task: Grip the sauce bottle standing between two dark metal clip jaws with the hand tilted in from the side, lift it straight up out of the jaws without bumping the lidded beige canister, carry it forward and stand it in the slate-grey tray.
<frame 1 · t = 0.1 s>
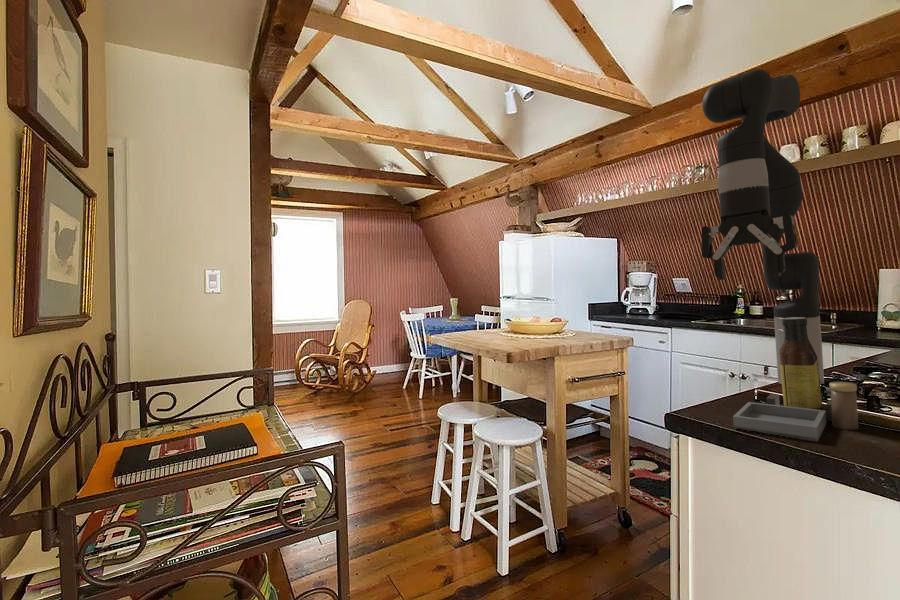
hand: (748, 278, 80), 29 cm above the countertop, tool pointing down, fingers open, 8 cm apart
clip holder: (802, 413, 91), on the countertop
sauce bottle: (802, 414, 91), on the countertop
lidded beige canister: (845, 426, 82), on the countertop
tray: (779, 426, 85), on the countertop
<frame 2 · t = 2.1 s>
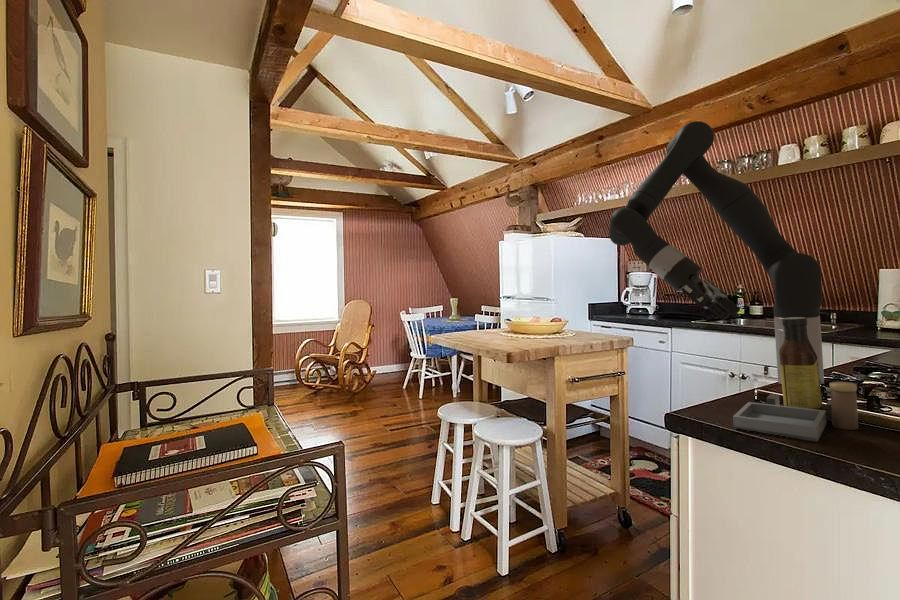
hand: (732, 315, 98), 21 cm above the countertop, tool tilted 45°, fingers open, 8 cm apart
nothing on the countertop moved.
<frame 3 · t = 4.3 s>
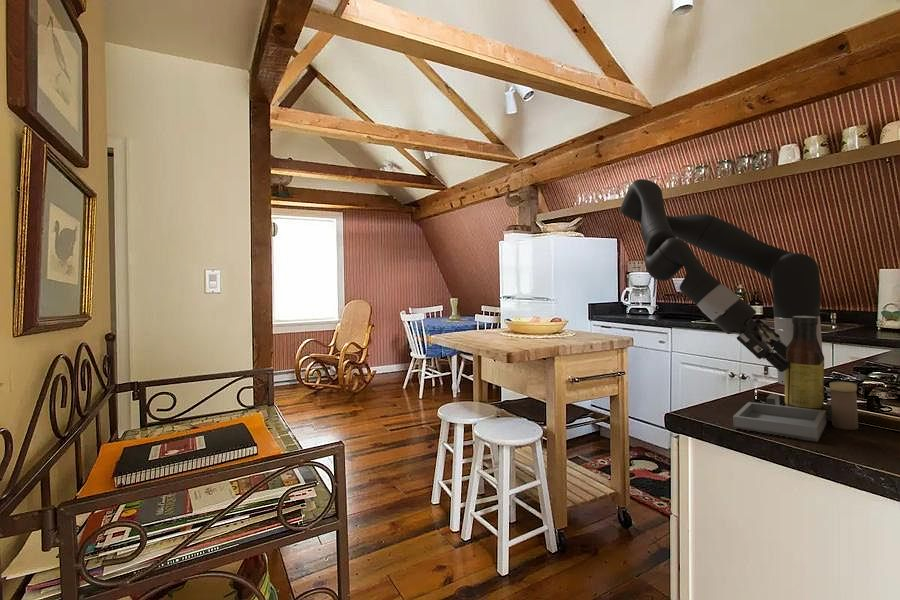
hand: (789, 363, 93), 10 cm above the countertop, tool tilted 40°, fingers open, 8 cm apart
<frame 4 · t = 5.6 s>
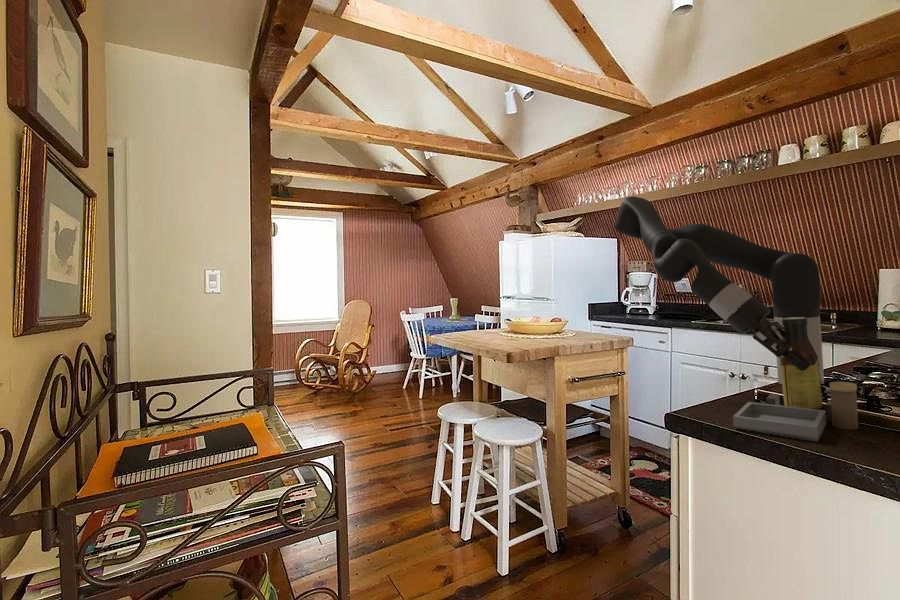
hand: (809, 364, 89), 10 cm above the countertop, tool tilted 45°, fingers closed on sauce bottle, 6 cm apart
sauce bottle: (802, 414, 91), on the countertop, touching gripper
everything else where it was.
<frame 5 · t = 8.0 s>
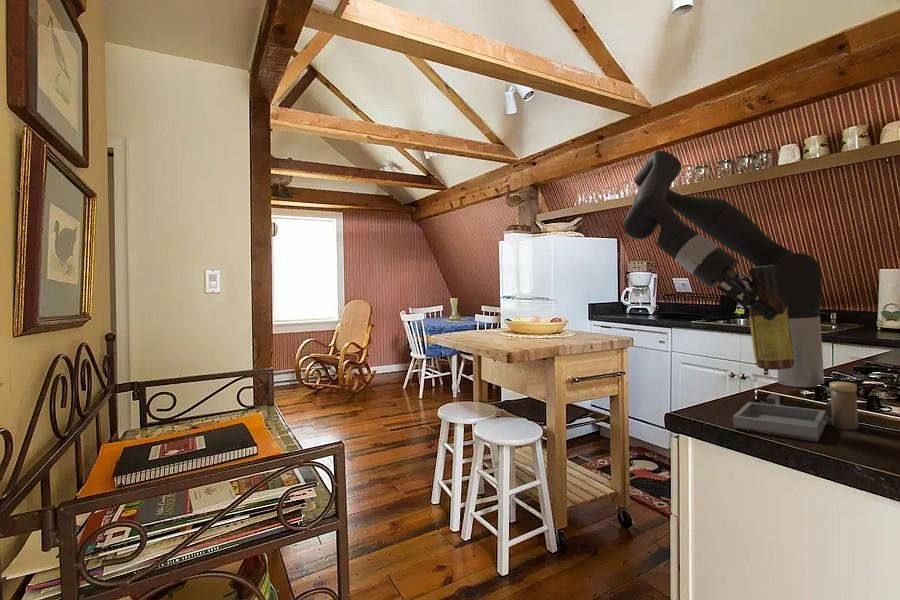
hand: (778, 314, 85), 22 cm above the countertop, tool tilted 45°, fingers closed on sauce bottle, 6 cm apart
sauce bottle: (774, 368, 86), point 11 cm above the countertop, touching gripper
everything else where it was.
when the fingers open (12 cm above the countertop, at t = 10.5 s): sauce bottle drops 1 cm, resting on tray.
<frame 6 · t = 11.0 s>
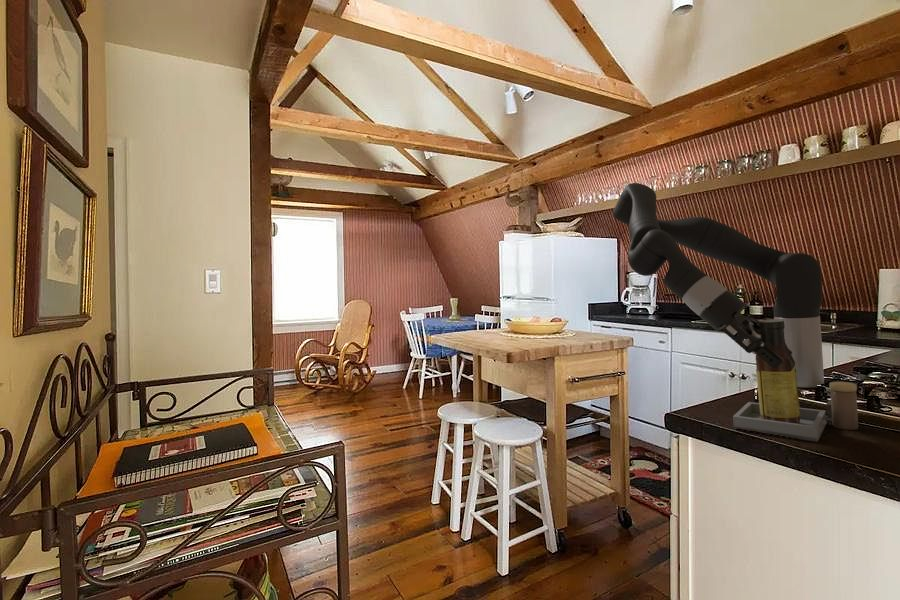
hand: (784, 360, 84), 13 cm above the countertop, tool tilted 45°, fingers open, 8 cm apart
sauce bottle: (779, 424, 85), resting on tray
everything else where it was.
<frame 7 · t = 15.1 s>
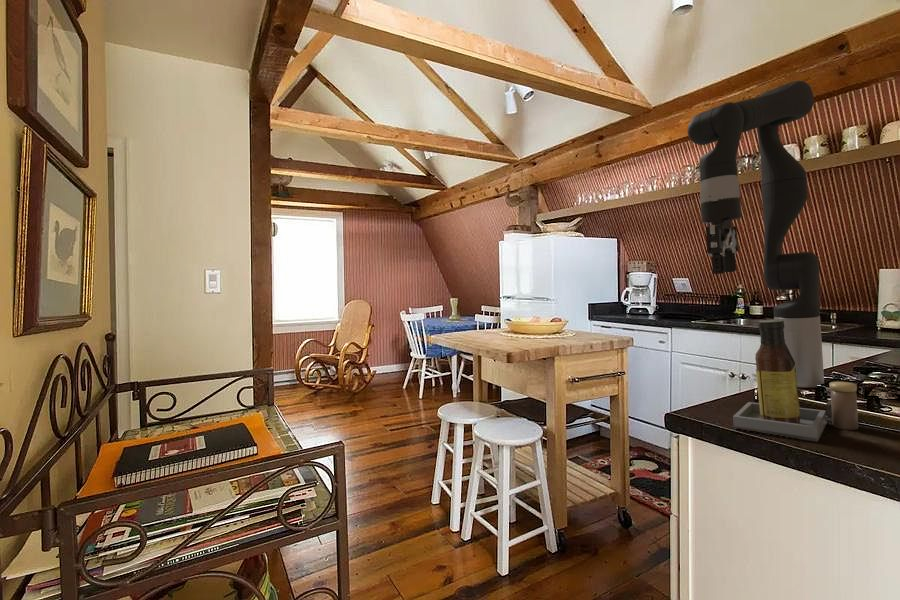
hand: (724, 272, 98), 30 cm above the countertop, tool pointing down, fingers open, 8 cm apart
nothing on the countertop moved.
at the end: sauce bottle inside the target area on the tray (0.1 cm from its centre), point 0.4 cm above the tray's base; sauce bottle tilted 0°; lidded beige canister moved 0.0 cm from its start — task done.
